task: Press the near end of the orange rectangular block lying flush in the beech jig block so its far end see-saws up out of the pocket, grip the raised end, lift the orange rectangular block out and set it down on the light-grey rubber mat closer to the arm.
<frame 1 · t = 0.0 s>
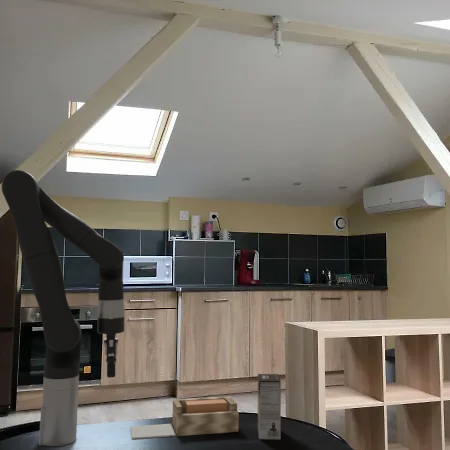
hand: (110, 373, 132), 17 cm above the table, tool pointing down, fingers open, 8 cm apart
mat: (152, 431, 135), on the table
orange rectangular block: (205, 414, 139), point 4 cm above the table, touching jig
jig: (203, 428, 139), on the table
coffee box: (268, 434, 134), on the table
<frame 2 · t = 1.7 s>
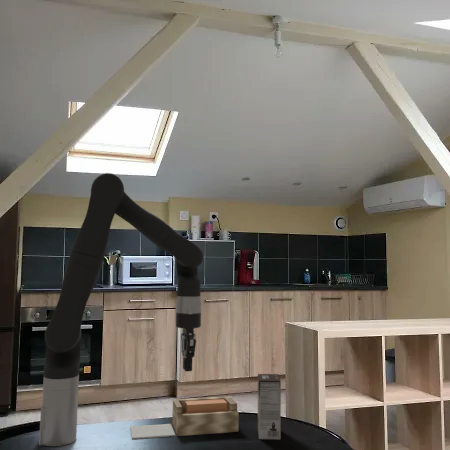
hand: (187, 369, 139), 17 cm above the table, tool pointing down, fingers closed
nothing on the table moved.
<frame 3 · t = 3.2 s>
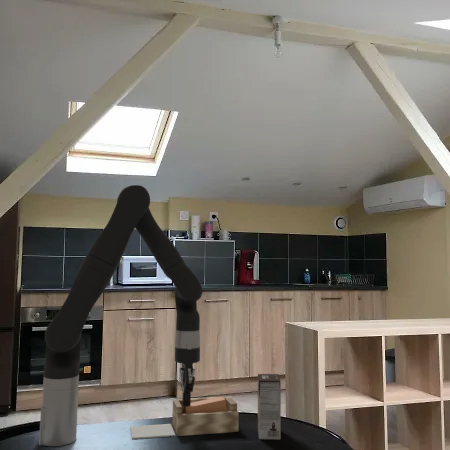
hand: (186, 405, 138), 7 cm above the table, tool pointing down, fingers closed
orange rectangular block: (205, 413, 139), point 4 cm above the table, tilted 8°, touching gripper, jig
everything else where it was.
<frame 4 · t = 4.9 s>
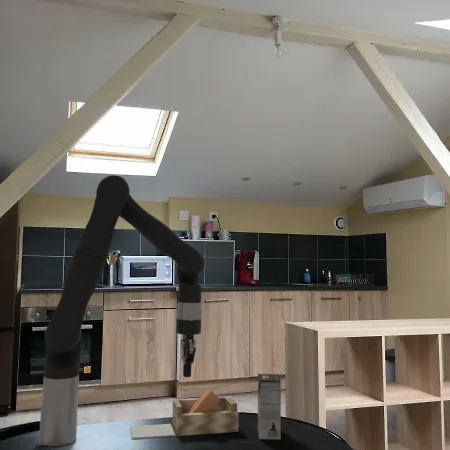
hand: (186, 376, 139), 15 cm above the table, tool pointing down, fingers closed
orange rectangular block: (204, 412, 139), point 4 cm above the table, tilted 47°, touching jig
everything else where it was.
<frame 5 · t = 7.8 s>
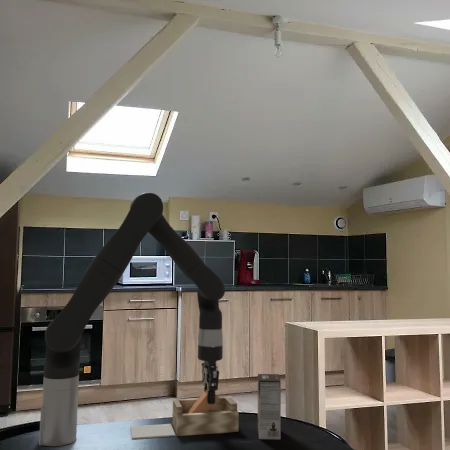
hand: (209, 401, 141), 8 cm above the table, tool pointing down, fingers open, 4 cm apart
nothing on the table moved.
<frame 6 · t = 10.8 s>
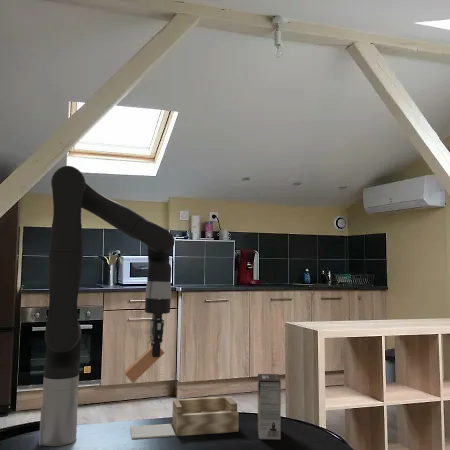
hand: (155, 355, 137), 22 cm above the table, tool pointing down, fingers closed on orange rectangular block, 4 cm apart
orange rectangular block: (148, 366, 137), point 18 cm above the table, tilted 43°, touching gripper
everything else where it was.
when the fingers open (9 cm above the table, at t = 13.3 s): orange rectangular block drops 6 cm, resting on mat.
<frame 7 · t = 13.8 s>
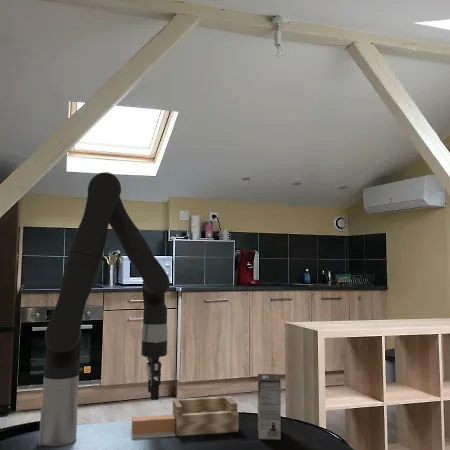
hand: (153, 395, 136), 10 cm above the table, tool pointing down, fingers open, 8 cm apart
orange rectangular block: (153, 430, 135), resting on mat
everything else where it was.
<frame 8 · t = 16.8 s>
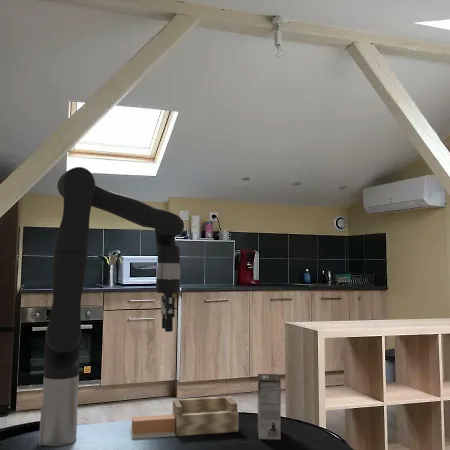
hand: (167, 329, 146), 28 cm above the table, tool pointing down, fingers open, 8 cm apart
nothing on the table moved.
at the end: orange rectangular block inside the target area (0.3 cm from its centre), resting on mat; the gripper is holding nothing; orange rectangular block moved 15.9 cm from its start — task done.
